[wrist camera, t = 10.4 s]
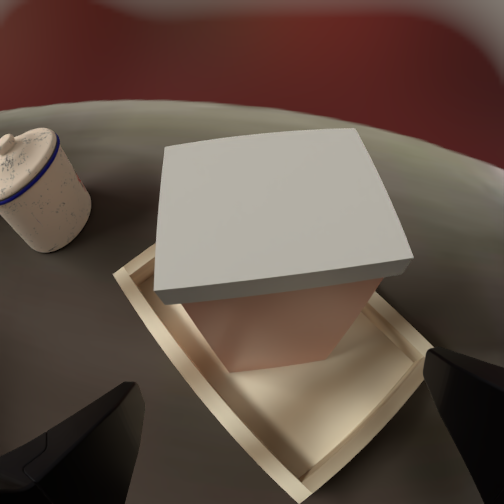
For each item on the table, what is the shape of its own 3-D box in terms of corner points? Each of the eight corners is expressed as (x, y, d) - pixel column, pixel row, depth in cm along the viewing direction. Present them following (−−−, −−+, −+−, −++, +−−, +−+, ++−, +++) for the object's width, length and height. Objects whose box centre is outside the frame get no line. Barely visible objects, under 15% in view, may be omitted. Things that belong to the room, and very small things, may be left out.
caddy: (330, 363, 20) (413, 257, 8) (225, 377, 20) (153, 290, 8) (315, 288, 23) (355, 127, 11) (218, 300, 23) (165, 146, 11)
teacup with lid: (108, 188, 31) (63, 100, 21) (71, 263, 27) (0, 180, 17) (36, 185, 33) (-9, 116, 23) (1, 246, 28) (-59, 182, 18)
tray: (423, 364, 20) (441, 355, 18) (295, 494, 16) (299, 503, 14) (249, 203, 29) (247, 180, 26) (127, 291, 25) (112, 274, 22)
